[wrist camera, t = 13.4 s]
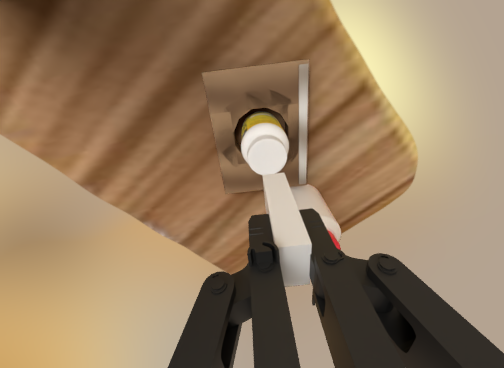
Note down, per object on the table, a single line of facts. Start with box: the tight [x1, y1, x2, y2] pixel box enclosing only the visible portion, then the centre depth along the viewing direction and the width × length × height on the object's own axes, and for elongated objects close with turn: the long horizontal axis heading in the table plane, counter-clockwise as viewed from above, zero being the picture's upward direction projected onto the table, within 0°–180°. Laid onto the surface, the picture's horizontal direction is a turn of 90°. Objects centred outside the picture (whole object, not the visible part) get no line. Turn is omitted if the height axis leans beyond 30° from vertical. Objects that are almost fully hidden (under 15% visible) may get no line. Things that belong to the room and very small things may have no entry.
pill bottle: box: [290, 184, 341, 250], centre depth 31 cm, size 8×8×11 cm
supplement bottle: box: [241, 111, 289, 175], centre depth 26 cm, size 5×5×10 cm
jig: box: [202, 59, 310, 194], centre depth 29 cm, size 16×12×3 cm
